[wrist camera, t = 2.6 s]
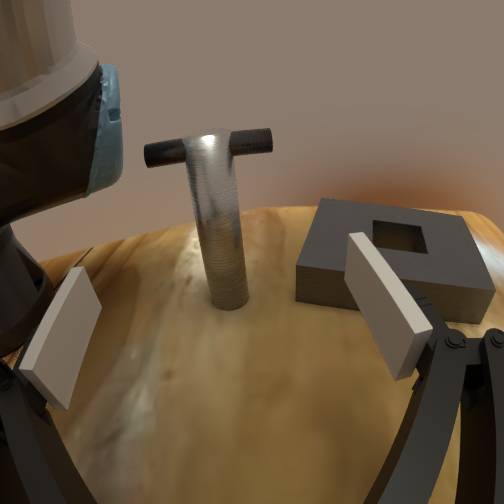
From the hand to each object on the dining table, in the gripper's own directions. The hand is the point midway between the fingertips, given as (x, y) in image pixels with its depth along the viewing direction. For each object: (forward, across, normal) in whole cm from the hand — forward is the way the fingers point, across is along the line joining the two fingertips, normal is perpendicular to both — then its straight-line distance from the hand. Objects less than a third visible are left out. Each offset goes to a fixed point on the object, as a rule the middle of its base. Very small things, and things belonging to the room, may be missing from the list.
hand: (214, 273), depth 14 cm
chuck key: (+10, 0, -10) cm, 14 cm away
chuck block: (+11, +17, -10) cm, 23 cm away
